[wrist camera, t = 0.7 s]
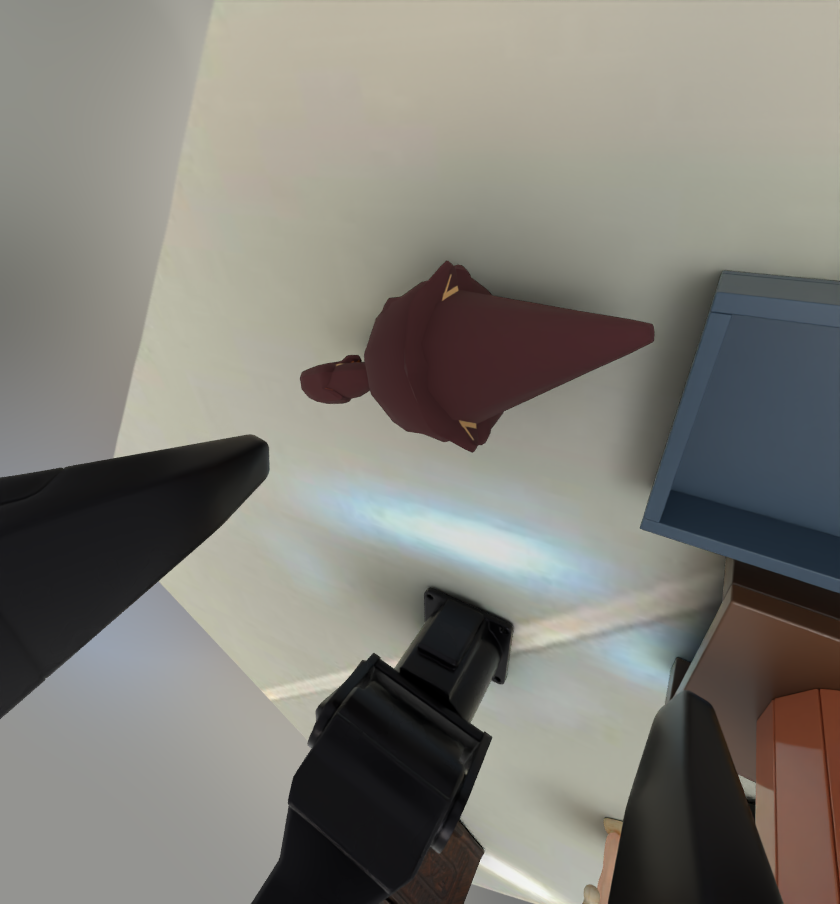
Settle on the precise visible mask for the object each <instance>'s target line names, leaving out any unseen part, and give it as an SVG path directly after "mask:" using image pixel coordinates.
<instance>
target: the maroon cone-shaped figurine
mask: <svg viewBox="0 0 840 904" xmlns="http://www.w3.org/2000/svg"><path fill="white" fill-rule="evenodd" d="M654 336H655V334H654V327H653V325H652V324H650V323H645V322H641V321H636V320H631V319H625V318H619V317H613V316H607V315H601V314H595V313H588V312H582V311H577V310H571V309H565V308H560V307H554V306H548V305H543V304H537V303H532V302H526V301H520V300H515V299H509V298H503V297H498V296H492V295H491V293H490V292H489V291H488V290H487V289H486V288H484V287H483V286H482V285H480V284H479V283H478V282H477V281H475V280H474V279H473V278H471V276H470V274H469V272H468V271H467V270H466V269H465V268H464V267H463V266H462V265H455V266H453V265H452V264H451V263H450V262H449V261H445V262H444V263H443V264H442V265H441V266H440V268H439V269H438V270H437V271H436V272H435V273H434V274H433V276H432V277H431V278H430V279H429V280H428V281H424V282H421V283H420V284H418V285H417V286H415V287H414V288H413V289H411V290H410V291H408V292H407V293H406V294H404V295H403V296H401V297H395V298H389V299H388V300H387V302H386V303H385V305H384V307H383V310H382V312H381V313H380V314H379V315H378V317H377V318H376V320H375V323H374V326H373V329H372V332H371V335H370V338H369V341H368V344H367V347H366V350H365V353H364V360H365V362H362V360H361V358H360V356H359V355H348V356H346V357H345V358H344V359H343V360H342V361H339V362H333V363H327V364H322V365H318V366H315V367H312V368H310V369H307V370H305V371H303V372H302V374H301V377H300V381H301V388H302V390H303V391H304V392H305V394H306V395H307V396H308V397H309V398H311V399H313V400H315V401H317V402H322V403H326V404H342V403H347V402H349V401H350V400H351V399H352V398H356V397H360V396H362V395H364V394H365V393H367V392H368V391H370V392H371V395H372V396H373V397H374V398H375V400H376V401H377V402H378V403H379V405H380V406H381V407H382V408H383V410H384V411H385V412H386V413H387V415H388V416H389V417H390V418H391V420H392V421H393V422H394V423H396V424H397V425H399V426H400V427H401V428H403V429H404V430H406V431H408V432H414V433H421V434H425V435H427V436H430V437H432V438H435V439H437V440H440V441H442V442H447V441H451V442H453V443H455V444H456V445H458V446H460V447H462V448H464V449H465V450H468V451H470V452H474V451H475V450H476V448H477V446H478V445H483V444H484V443H486V441H487V439H488V437H489V435H490V432H491V429H492V427H493V426H494V425H495V423H496V422H497V420H498V419H499V418H500V416H501V415H502V414H503V412H504V411H506V410H508V409H510V408H512V407H515V406H517V405H519V404H521V403H523V402H525V401H527V400H530V399H532V398H534V397H536V396H538V395H540V394H543V393H545V392H547V391H549V390H551V389H553V388H555V387H558V386H560V385H562V384H564V383H566V382H568V381H571V380H573V379H575V378H577V377H579V376H581V375H583V374H586V373H588V372H590V371H592V370H594V369H597V368H599V367H601V366H603V365H606V364H608V363H610V362H612V361H614V360H617V359H619V358H621V357H623V356H626V355H628V354H630V353H632V352H634V351H636V350H638V349H640V348H642V347H644V346H646V345H648V344H650V343H652V342H653V341H654Z"/></svg>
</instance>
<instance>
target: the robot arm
mask: <svg viewBox="0 0 840 904" xmlns="http://www.w3.org/2000/svg"><path fill="white" fill-rule="evenodd" d="M268 473H269V446H268V444H267V442H265V441H264V440H262V439H260V438H259V437H257V436H255V435H251V434H250V435H243V436H237V437H232V438H226V439H220V440H215V441H209V442H203V443H198V444H192V445H186V446H181V447H175V448H170V449H164V450H158V451H153V452H147V453H141V454H136V455H130V456H124V457H119V458H113V459H108V460H102V461H96V462H91V463H85V464H79V465H74V466H68V467H65V468H64V469H63V468H56V469H51V470H45V471H40V472H33V473H27V474H21V475H15V476H8V477H1V478H0V719H1V718H2V717H3V716H4V715H5V714H7V713H8V712H9V711H10V710H11V709H12V708H14V707H15V706H16V705H17V704H18V703H19V702H20V701H22V700H23V699H24V698H25V697H26V696H27V695H29V694H30V693H31V692H32V691H33V690H34V689H35V688H37V687H38V686H39V685H40V684H41V683H42V682H43V681H45V678H47V677H49V676H50V675H51V674H52V673H53V672H55V671H56V670H57V669H58V668H59V667H60V666H61V665H63V664H64V663H65V662H66V661H67V660H68V659H70V658H71V657H72V656H73V655H74V654H75V653H76V652H78V651H79V650H80V649H81V648H82V647H83V646H84V645H86V644H87V643H88V642H89V641H90V640H91V639H92V638H93V637H95V636H96V635H97V634H98V633H99V632H101V631H102V630H103V629H104V628H105V627H106V626H107V625H109V624H110V623H111V622H112V621H113V620H114V619H116V618H117V617H118V616H119V615H120V614H121V613H122V612H124V611H125V610H126V609H127V608H128V607H129V606H130V605H132V604H133V603H134V602H135V601H136V600H137V599H138V598H140V597H141V596H142V595H143V594H144V593H145V592H147V591H148V590H149V589H150V588H151V587H152V586H153V585H154V584H156V583H157V582H158V581H159V580H160V579H161V578H163V577H164V576H165V575H166V574H167V573H168V572H170V571H171V570H172V569H173V568H174V567H175V566H176V565H178V564H179V563H180V562H181V561H182V560H183V559H184V558H186V557H187V556H188V555H189V554H190V553H191V552H192V551H194V550H195V549H196V548H197V547H198V546H199V545H201V544H202V543H203V542H204V541H205V540H206V539H207V538H209V537H210V536H211V535H212V534H213V533H214V532H215V531H216V530H217V529H219V528H220V527H221V526H222V525H223V524H224V523H225V522H226V521H227V520H228V519H229V518H230V516H231V515H232V514H233V513H234V512H235V511H236V510H237V509H238V508H239V507H240V506H241V505H242V504H243V503H244V502H245V500H246V499H247V498H248V497H249V496H250V495H251V494H252V493H253V492H254V491H255V490H256V489H257V488H258V487H259V486H260V484H261V483H262V482H263V481H264V480H265V479H266V477H267V476H268ZM424 606H425V624H424V625H423V627H422V628H421V630H420V631H419V633H418V634H417V636H416V637H415V639H414V640H413V642H412V643H411V645H410V646H409V647H408V649H407V650H406V652H405V653H404V655H403V656H402V658H401V659H400V661H399V662H398V664H397V665H396V667H395V668H392V667H391V666H389V665H388V664H387V663H385V662H384V661H382V660H381V659H380V658H381V657H379V656H378V655H376V654H375V653H373V654H372V655H371V656H370V657H369V658H368V660H367V661H365V660H362V661H361V662H360V664H359V665H358V666H357V668H356V669H355V670H354V672H353V673H352V674H351V676H350V677H349V678H348V679H347V680H346V681H345V682H344V683H343V684H342V685H341V686H340V687H339V688H338V689H337V690H335V691H334V692H333V693H332V694H331V695H330V696H329V697H327V698H326V699H325V700H324V701H323V702H322V703H321V704H320V705H319V706H318V708H317V709H316V723H315V725H314V728H313V731H312V733H311V735H310V737H309V740H308V746H309V747H310V748H311V750H310V752H309V753H308V755H307V757H306V758H305V759H304V761H303V762H302V764H301V765H300V767H299V769H298V770H297V772H296V774H295V775H294V777H293V781H292V784H291V789H290V793H289V799H288V805H289V808H288V814H287V819H286V825H285V831H284V837H283V842H282V848H281V855H280V858H279V861H278V862H277V864H276V866H275V867H274V869H273V871H272V872H271V873H270V875H269V877H268V878H267V880H266V881H265V883H264V884H263V886H262V888H261V889H260V891H259V892H258V894H257V895H256V897H255V899H254V900H253V902H252V903H251V904H379V903H381V902H382V901H383V900H385V899H386V898H388V897H389V896H391V895H392V894H393V893H395V892H396V891H398V890H399V889H401V888H402V887H403V886H405V885H406V884H408V883H409V882H410V881H412V880H413V879H414V877H415V876H416V874H417V872H418V870H419V868H420V866H421V864H422V862H423V860H424V858H425V856H426V854H427V852H428V850H429V848H430V847H431V848H432V849H434V850H435V851H436V852H437V853H439V854H440V853H441V852H442V850H443V849H444V847H445V846H446V844H447V842H448V840H449V838H450V837H451V835H452V833H453V831H454V829H455V827H456V825H457V823H458V821H459V819H460V816H461V814H462V812H463V810H464V808H465V805H466V803H467V801H468V798H469V796H470V793H471V791H472V788H473V786H474V783H475V781H476V778H477V775H478V773H479V770H480V768H481V765H482V763H483V760H484V757H485V755H486V752H487V750H488V747H489V745H490V742H491V740H492V736H490V735H489V734H488V733H486V732H485V731H484V733H483V732H482V731H481V730H479V729H478V728H476V727H475V726H474V725H472V724H471V721H472V719H473V717H474V715H475V713H476V711H477V709H478V707H479V705H480V703H481V701H482V699H483V697H484V694H485V692H486V690H487V688H488V686H489V684H490V682H491V680H492V681H494V682H496V683H498V684H504V682H505V680H506V677H507V670H508V664H509V657H510V650H511V644H512V637H513V627H512V625H511V624H509V623H508V622H506V621H504V620H501V619H499V618H497V617H495V616H493V615H490V614H488V613H486V612H484V611H482V610H479V609H477V608H475V607H473V606H471V605H468V604H466V603H464V602H462V601H460V600H458V599H455V598H453V597H451V596H449V595H447V594H444V593H442V592H440V591H438V590H436V589H433V588H428V589H427V590H426V592H425V593H424ZM608 904H784V903H783V900H782V897H781V894H780V891H779V889H778V886H777V883H776V880H775V877H774V875H773V872H772V869H771V866H770V863H769V861H768V858H767V855H766V852H765V849H764V847H763V844H762V841H761V838H760V835H759V833H758V830H757V827H756V824H755V821H754V819H753V816H752V813H751V810H750V807H749V804H748V802H747V799H746V796H745V793H744V790H743V788H742V785H741V782H740V779H739V776H738V774H737V771H736V768H735V765H734V762H733V760H732V757H731V754H730V751H729V748H728V746H727V743H726V740H725V737H724V734H723V732H722V729H721V726H720V723H719V720H718V718H717V715H716V712H715V710H714V708H713V706H712V705H711V704H710V703H709V702H708V701H707V700H705V699H703V698H702V697H700V696H698V695H696V694H695V693H693V692H691V691H689V690H682V691H681V692H679V693H678V694H677V695H676V696H675V697H673V698H672V699H671V700H670V701H669V702H668V703H666V704H665V705H664V706H663V707H662V708H661V709H660V710H659V711H658V713H657V714H656V716H655V718H654V721H653V724H652V727H651V730H650V733H649V736H648V739H647V742H646V746H645V749H644V752H643V755H642V758H641V761H640V764H639V767H638V771H637V774H636V777H635V780H634V783H633V786H632V789H631V792H630V796H629V799H628V803H627V806H626V810H625V815H624V819H623V824H622V829H621V835H620V840H619V845H618V851H617V856H616V861H615V867H614V872H613V877H612V883H611V888H610V893H609V899H608Z"/></svg>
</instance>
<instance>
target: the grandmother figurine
mask: <svg viewBox="0 0 840 904" xmlns="http://www.w3.org/2000/svg"><path fill="white" fill-rule="evenodd" d="M622 824H623V822H622V821H617V820H614V819H609V818H605V819H604V827H605V830H606V831H607V833H608V836H607V839H606V843H605V850H604V861H603V869H602V873H601V876H600V879H599V882H598V886H597V888H596V887H595V886H593V885H590V884H589V885H586V886H585V888H584V901H583V903H582V904H608V899H609V893H610V888H611V883H612V877H613V872H614V867H615V861H616V856H617V851H618V845H619V840H620V835H621V829H622Z"/></svg>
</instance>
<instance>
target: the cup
mask: <svg viewBox="0 0 840 904" xmlns="http://www.w3.org/2000/svg"><path fill="white" fill-rule="evenodd" d="M755 824H756V827H757V830H758V833H759V835H760V838H761V841H762V844H763V847H764V849H765V852H766V855H767V858H768V861H769V863H770V866H771V869H772V872H773V875H774V877H775V880H776V883H777V886H778V889H779V891H780V894H781V897H782V900H783V903H784V904H840V691H839V690H831V689H822V688H821V689H820V690H818V689H812V690H808V691H804V692H800V693H795V694H791V695H787V696H783V697H778V698H775V699H774V700H772V701H771V703H770V704H769V705H768V707H767V708H766V709H765V711H764V712H763V713H762V715H761V716H760V718H759V719H758V720H757V724H756V814H755Z"/></svg>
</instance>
